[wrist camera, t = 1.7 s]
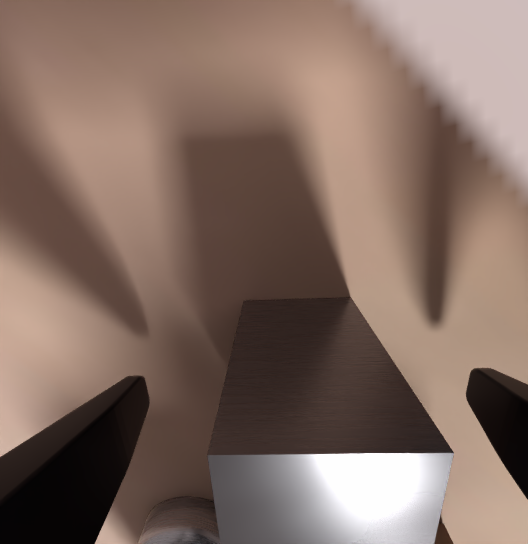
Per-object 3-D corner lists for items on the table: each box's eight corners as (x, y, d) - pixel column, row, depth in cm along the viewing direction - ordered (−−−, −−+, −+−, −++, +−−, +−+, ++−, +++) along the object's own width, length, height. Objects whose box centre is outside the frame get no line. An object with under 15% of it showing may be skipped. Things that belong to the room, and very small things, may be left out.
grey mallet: (350, 297, 8) (454, 453, 4) (336, 561, 12) (377, 802, 8) (243, 301, 8) (207, 454, 4) (263, 560, 12) (258, 796, 8)
